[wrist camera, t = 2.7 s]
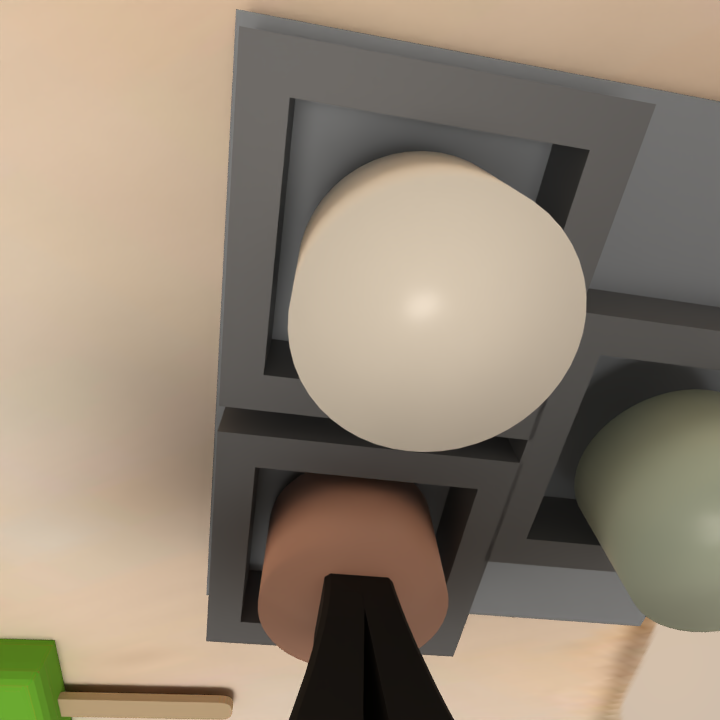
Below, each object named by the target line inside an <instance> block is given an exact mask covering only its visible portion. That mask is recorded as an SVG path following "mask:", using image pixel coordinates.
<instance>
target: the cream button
mask: <svg viewBox="0 0 720 720" xmlns="http://www.w3.org/2000/svg"><path fill="white" fill-rule="evenodd" d="M586 298H587V296H586V288H585V280H584V275H583V272H582V268H581V264H580V261H579V258H578V256H577V254H576V252H575V250H574V247H573V245H572V243H571V242H570V240H569V239H568V237H567V235H566V234H565V232H564V231H563V229H562V228H561V227H560V226H559V224H558V223H557V222H556V221H555V220H554V219H553V218H552V217H551V216H550V215H549V213H547V212H546V211H545V210H544V209H542V208H541V207H540V206H539V205H538V204H536V203H535V202H534V201H532V200H531V199H529V198H528V197H526V196H524V195H523V194H521V193H520V192H518V191H516V190H515V189H513V188H512V187H510V186H509V185H507V184H505V183H504V182H502V181H501V180H499V179H497V178H496V177H494V176H493V175H491V174H489V173H488V172H486V171H485V170H483V169H481V168H479V167H478V166H476V165H474V164H473V163H471V162H469V161H466V160H464V159H461V158H459V157H456V156H452V155H448V154H444V153H440V152H430V151H409V152H402V153H396V154H391V155H388V156H385V157H382V158H379V159H376V160H373V161H371V162H369V163H367V164H365V165H363V166H361V167H359V168H357V169H356V170H354V171H353V172H351V173H350V174H348V175H347V176H345V177H344V178H343V179H342V180H341V181H339V182H338V183H337V184H336V185H335V186H334V187H333V188H332V189H331V190H330V191H329V192H328V193H327V195H326V196H325V197H324V198H323V199H322V200H321V202H320V203H319V205H318V206H317V208H316V209H315V211H314V212H313V214H312V216H311V218H310V220H309V222H308V224H307V227H306V229H305V232H304V235H303V238H302V241H301V246H300V251H299V257H298V262H297V268H296V273H295V279H294V284H293V290H292V295H291V301H290V306H289V312H288V337H289V346H290V351H291V355H292V359H293V363H294V366H295V368H296V371H297V373H298V375H299V378H300V380H301V382H302V384H303V385H304V387H305V389H306V390H307V392H308V394H309V395H310V397H311V398H312V399H313V400H314V402H315V403H316V404H317V405H318V407H319V408H320V409H321V410H322V411H323V412H324V413H325V414H326V415H327V416H328V417H329V418H330V419H332V420H333V421H334V422H336V423H337V424H338V425H340V426H341V427H342V428H344V429H345V430H347V431H349V432H351V433H352V434H354V435H356V436H358V437H359V438H362V439H364V440H367V441H369V442H372V443H374V444H377V445H381V446H384V447H388V448H392V449H398V450H404V451H415V452H434V451H445V450H452V449H458V448H462V447H466V446H469V445H473V444H477V443H479V442H482V441H484V440H487V439H490V438H492V437H494V436H496V435H498V434H500V433H502V432H504V431H506V430H508V429H510V428H511V427H513V426H514V425H516V424H517V423H519V422H520V421H522V420H523V419H525V418H526V417H527V416H528V415H530V414H531V413H532V412H533V411H535V410H536V409H537V408H538V407H539V406H540V405H541V404H542V403H543V402H544V401H545V400H546V399H547V398H548V397H549V396H550V395H551V393H552V392H553V391H554V390H555V388H556V387H557V386H558V385H559V383H560V382H561V381H562V379H563V377H564V376H565V374H566V372H567V371H568V369H569V367H570V366H571V364H572V361H573V359H574V357H575V355H576V352H577V350H578V347H579V344H580V341H581V338H582V334H583V330H584V324H585V318H586Z"/></svg>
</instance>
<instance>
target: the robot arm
mask: <svg viewBox="0 0 720 720" xmlns="http://www.w3.org/2000/svg"><path fill="white" fill-rule="evenodd" d="M289 720H454V719H453V717H452V715H451V713H450V711H449V710H448V708H447V706H446V704H445V702H444V700H443V698H442V696H441V694H440V692H439V690H438V688H437V686H436V684H435V682H434V680H433V678H432V676H431V674H430V672H429V669H428V667H427V665H426V663H425V661H424V659H423V657H422V655H421V653H420V650H419V648H418V646H417V644H416V641H415V639H414V637H413V634H412V632H411V629H410V627H409V625H408V622H407V620H406V617H405V615H404V612H403V610H402V607H401V604H400V602H399V599H398V596H397V593H396V590H395V587H394V584H393V582H392V581H391V580H390V578H388V577H374V576H360V575H347V574H333V573H330V574H329V575H327V576H325V577H324V583H323V588H322V594H321V600H320V605H319V611H318V616H317V622H316V627H315V633H314V643H313V649H312V652H311V656H310V659H309V663H308V666H307V669H306V673H305V676H304V679H303V682H302V684H301V687H300V690H299V693H298V696H297V699H296V701H295V704H294V707H293V710H292V713H291V716H290V718H289Z"/></svg>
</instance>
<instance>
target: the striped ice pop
mask: <svg viewBox="0 0 720 720" xmlns="http://www.w3.org/2000/svg"><path fill="white" fill-rule="evenodd" d="M232 708H233V700H232V699H231V698H230V697H228V696H222V695H183V694H139V693H95V692H66V691H65V687H64V682H63V677H62V673H61V668H60V663H59V659H58V654H57V650H56V645H55V640H26V639H0V720H72V719H71V717H113V718H166V719H219V720H220V719H227V718H229V717H230V716H231V714H232Z"/></svg>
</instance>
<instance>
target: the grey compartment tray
mask: <svg viewBox="0 0 720 720" xmlns="http://www.w3.org/2000/svg"><path fill="white" fill-rule="evenodd" d="M409 151H430V152H440V153H444V154H448V155H452V156H456V157H459V158H461V159H464V160H466V161H469V162H471V163H473V164H474V165H476V166H478V167H479V168H481V169H483V170H485V171H486V172H488V173H489V174H491V175H493V176H494V177H496V178H497V179H499V180H501V181H502V182H504V183H505V184H507V185H509V186H510V187H512V188H513V189H515V190H516V191H518V192H520V193H521V194H523V195H524V196H526V197H528V198H529V199H531V200H532V201H534V202H535V203H536V204H538V205H539V206H540V207H541V208H542V209H544V210H545V211H546V212H547V213H549V215H550V216H551V217H552V218H553V219H554V220H555V221H556V222H557V223H558V224H559V226H560V227H561V228H562V229H563V231H564V232H565V234H566V235H567V237H568V239H569V240H570V242H571V243H572V245H573V247H574V250H575V252H576V254H577V256H578V258H579V261H580V264H581V268H582V272H583V275H584V280H585V288H586V296H587V298H586V318H585V324H584V330H583V334H582V338H581V341H580V344H579V347H578V350H577V352H576V355H575V357H574V359H573V361H572V364H571V366H570V367H569V369H568V371H567V372H566V374H565V376H564V377H563V379H562V381H561V382H560V383H559V385H558V386H557V387H556V388H555V390H554V391H553V392H552V393H551V395H550V396H549V397H548V398H547V399H546V400H545V401H544V402H543V403H542V404H541V405H540V406H539V407H538V408H537V409H536V410H535V411H533V412H532V413H531V414H530V415H528V416H527V417H526V418H525V419H523V420H522V421H520V422H519V423H517V424H516V425H514V426H513V427H511V428H510V429H508V430H506V431H504V432H502V433H500V434H498V435H496V436H494V437H492V438H490V439H487V440H484V441H482V442H479V443H477V444H473V445H469V446H466V447H462V448H458V449H452V450H445V451H434V452H415V451H404V450H398V449H392V448H388V447H384V446H381V445H377V444H374V443H372V442H369V441H367V440H364V439H362V438H359V437H358V436H356V435H354V434H352V433H351V432H349V431H347V430H345V429H344V428H342V427H341V426H340V425H338V424H337V423H336V422H334V421H333V420H332V419H330V418H329V417H328V416H327V415H326V414H325V413H324V412H323V411H322V410H321V409H320V408H319V407H318V405H317V404H316V403H315V402H314V400H313V399H312V398H311V397H310V395H309V394H308V392H307V390H306V389H305V387H304V385H303V384H302V382H301V380H300V378H299V375H298V373H297V371H296V368H295V366H294V363H293V359H292V355H291V351H290V346H289V337H288V312H289V306H290V301H291V295H292V290H293V284H294V279H295V273H296V268H297V262H298V257H299V251H300V246H301V241H302V238H303V235H304V232H305V229H306V227H307V224H308V222H309V220H310V218H311V216H312V214H313V212H314V211H315V209H316V208H317V206H318V205H319V203H320V202H321V200H322V199H323V198H324V197H325V196H326V195H327V193H328V192H329V191H330V190H331V189H332V188H333V187H334V186H335V185H336V184H337V183H338V182H339V181H341V180H342V179H343V178H344V177H345V176H347V175H348V174H350V173H351V172H353V171H354V170H356V169H357V168H359V167H361V166H363V165H365V164H367V163H369V162H371V161H373V160H376V159H379V158H382V157H385V156H388V155H391V154H396V153H402V152H409ZM690 389H702V390H712V391H717V392H720V102H719V101H714V100H709V99H704V98H698V97H693V96H688V95H683V94H677V93H672V92H667V91H662V90H657V89H651V88H646V87H641V86H636V85H630V84H625V83H620V82H615V81H609V80H604V79H599V78H594V77H589V76H583V75H578V74H573V73H568V72H562V71H557V70H552V69H547V68H542V67H536V66H531V65H526V64H521V63H515V62H510V61H505V60H500V59H494V58H489V57H484V56H479V55H474V54H468V53H463V52H458V51H453V50H447V49H442V48H437V47H432V46H426V45H421V44H416V43H411V42H406V41H400V40H395V39H390V38H385V37H379V36H374V35H369V34H364V33H358V32H353V31H348V30H343V29H338V28H332V27H327V26H322V25H317V24H311V23H306V22H301V21H296V20H290V19H285V18H280V17H275V16H270V15H264V14H259V13H254V12H249V11H243V10H238V9H236V24H235V44H234V63H233V83H232V103H231V122H230V142H229V162H228V182H227V201H226V221H225V241H224V261H223V280H222V300H221V320H220V339H219V359H218V379H217V399H216V418H215V438H214V458H213V477H212V497H211V517H210V537H209V556H208V576H207V595H209V599H208V618H207V637H206V641H212V642H228V643H244V644H261V645H276V644H275V643H274V642H273V641H272V640H271V639H270V638H269V637H268V635H267V634H266V632H265V631H264V629H263V627H262V625H261V622H260V619H259V614H258V598H259V591H260V584H261V577H262V570H263V563H264V556H265V548H266V541H267V534H268V527H269V520H270V515H271V510H272V508H273V505H274V503H275V501H276V499H277V497H278V496H279V494H280V493H281V492H282V491H283V489H284V488H285V487H286V486H287V485H288V484H290V483H291V482H292V481H293V480H295V479H296V478H297V477H299V476H300V475H302V474H304V473H306V472H308V473H318V474H329V475H339V476H349V477H359V478H369V479H379V480H390V481H400V482H410V483H414V484H415V485H416V486H417V487H418V488H419V490H420V491H421V492H422V494H423V495H424V497H425V499H426V501H427V504H428V507H429V510H430V515H431V519H432V524H433V528H434V533H435V537H436V542H437V546H438V550H439V555H440V559H441V564H442V568H443V573H444V577H445V582H446V586H447V591H448V598H449V599H448V609H447V613H446V617H445V619H444V621H443V623H442V625H441V627H440V628H439V630H438V631H437V632H436V633H435V635H434V636H433V637H432V638H431V639H430V640H429V641H428V642H427V643H425V644H424V645H423V646H422V647H420V648H419V650H420V653H421V655H437V656H453V655H454V653H455V650H456V647H457V644H458V642H459V639H460V636H461V634H462V631H463V628H464V625H465V623H466V620H467V617H468V615H469V614H478V615H492V616H506V617H520V618H534V619H548V620H562V621H576V622H590V623H604V624H618V625H632V626H641V624H642V622H643V620H644V619H645V617H646V616H645V615H644V614H643V613H641V611H640V610H639V609H638V608H637V607H636V606H635V604H634V602H633V601H632V599H631V597H630V595H629V594H628V592H627V590H626V588H625V587H624V585H623V583H622V581H621V580H620V578H619V576H618V574H617V573H616V571H615V569H614V567H613V566H612V564H611V562H610V560H609V559H608V557H607V555H606V553H605V552H604V550H603V548H602V546H601V545H600V543H599V541H598V539H597V538H596V536H595V534H594V532H593V531H592V529H591V527H590V525H589V524H588V522H587V520H586V518H585V517H584V515H583V513H582V511H581V510H580V508H579V506H578V503H577V501H576V497H575V491H574V479H575V474H576V469H577V466H578V463H579V461H580V459H581V457H582V455H583V453H584V451H585V449H586V448H587V446H588V445H589V443H590V442H591V440H592V439H593V438H594V437H595V436H596V434H597V433H598V432H599V431H600V430H601V429H602V428H603V427H604V426H605V425H606V424H607V423H608V422H610V421H611V420H612V419H614V418H615V417H616V416H618V415H619V414H620V413H622V412H624V411H625V410H627V409H628V408H630V407H632V406H634V405H636V404H638V403H640V402H642V401H644V400H647V399H649V398H652V397H654V396H657V395H661V394H665V393H668V392H673V391H679V390H690Z"/></svg>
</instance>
